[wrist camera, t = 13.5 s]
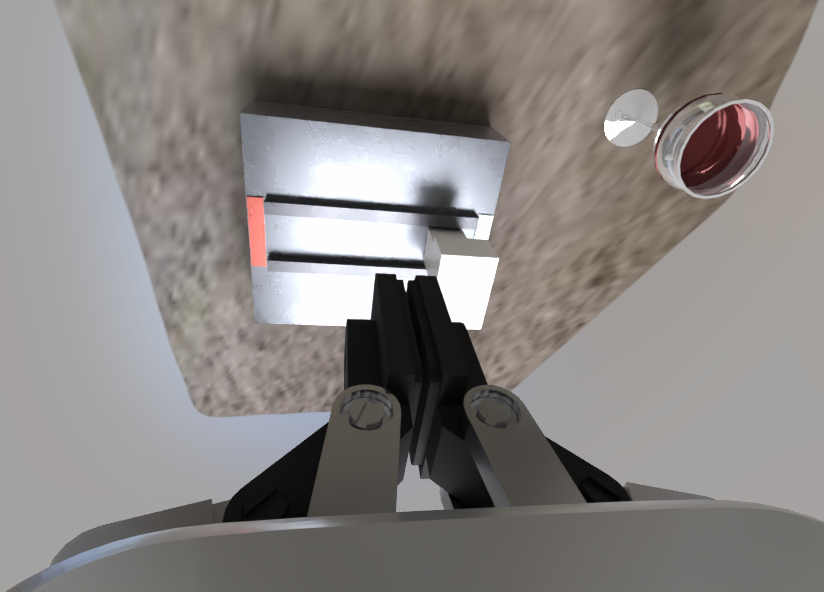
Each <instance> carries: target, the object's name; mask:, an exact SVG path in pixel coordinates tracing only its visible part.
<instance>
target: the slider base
mask: <svg viewBox="0 0 824 592" xmlns="http://www.w3.org/2000/svg"><path fill="white" fill-rule="evenodd" d="M240 125H241V139H242V152H243V166H244V179H245V193H246V206H247V220H248V233H249V247H250V260H251V274H252V287H253V301H254V314H255V323H273V324H302V325H332V326H346V321H347V319H371V310H372V300H373V289H374V279H375V274H376V273H385V274H396V277H397V279H403V281H404V286H405V290H406V289H407V282H408V280H414V279H415V276H416V275H426V276H428V274H427V270H426V267H425V264H424V253H425V247H426V240H427V234H428V228H433V229H447V230H461V231H463V232H464V234H465V235H466V237H467V238H471V239H486V240H488V238H489V234H490V229H491V225H492V221H493V216H494V212H495V208H496V204H497V199H498V195H499V191H500V186H501V182H502V178H503V173H504V169H505V165H506V161H507V156H508V152H509V148H510V143H511V142H510V141H509V140H507V139H506V138H505V137H503V136H502V135H501V134H500V133H498V132H497V131H496V130H494V129H493V128H492V127H490V126H482V125H473V124H465V123H456V122H447V121H438V120H429V119H420V118H411V117H402V116H394V115H385V114H376V113H367V112H358V111H349V110H340V109H331V108H323V107H314V106H305V105H296V104H287V103H278V102H269V101H260V100H255V101H254V102H252V103H251V104H250V105H249V106H248V107H246V108H245V109H244V110H243V111H241V112H240Z"/></svg>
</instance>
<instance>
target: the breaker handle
mask: <svg viewBox="0 0 824 592" xmlns="http://www.w3.org/2000/svg"><path fill="white" fill-rule="evenodd" d="M498 260H499V257H498V256H497V254H496V253H495V251H494V249H493V248H492V246H491V244H490V243H489V241H488V240H486V239H471V238H467V237H466V235H465V234H464V232H463V231H461V230H447V229H433V228H428V234H427V240H426V247H425V253H424V264H425V267H426V270H427V274H428V276H436V277H437V280H438V283H439V286H440V288H441V291H442V294H443V297H444V300H445V303H446V306H447V309H448V312H449V315H450V318H451V321H452V322H462V323H464V324H465V326H466V329H480V330H481V327H482V323H483V319H484V315H485V311H486V308H487V304H488V300H489V296H490V292H491V288H492V284H493V280H494V276H495V272H496V268H497V264H498Z"/></svg>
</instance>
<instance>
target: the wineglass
mask: <svg viewBox="0 0 824 592" xmlns="http://www.w3.org/2000/svg"><path fill="white" fill-rule="evenodd" d="M657 114H658V105H657V101H656V99H655V97H654V95H652V94H651V93H650V92H649V91H647V90H643V89H635V90H631V91H628V92H626V93H624V94H623V95H621V96H620V97H619V98H618V99H616V100H615V102H614V103H613V104H612V106H611V107H610V109H609V111H608V113H607V116H606V119H605V126H604V127H605V133H606V136H607V137H608V139H609V141H610V142H612V143H613V144H614V145H617V146H621V147H625V146H631V145H634V144H636V143H638V142H640V141H641V140H642V139H643V138H645V137H646V136H647V135H648V133H649V132H650V131H651V130H652V131H655V132H657V135H656V138H655V141H654V146H653V151H652V152H653V161H654V165H655V167H656V169H657V171H658V173H659V175H660V176H661V178H662V179H663V180H664V181H666V182H667V183H668V184H670V185H671V186H673V187H674V188H676V189H681V190H685V191H686V192H687V193H689V194H690V195H691V196H693V197H698V198H703V199H708V198H715V197H720V196H722V195H725V194H727V193H729V192H732V191H734V190H735V189H737V188H738V187H739V186H741V185H742V184H744V183H745V182H746V181H747V180H748V179H749V178H750V177H751V176H752V175H753V174H754V173H755V172H756V171H757V170H758V169H759V167H760V166H761V164H762V163H763V161H764V159H765V157H766V156H767V154H768V152H769V149H770V146H771V143H772V140H773V133H774V132H773V131H774V122H773V120H772V117H771V114H770V111H769V110H768V109H767V108H766V107H765V106H764V105H762V104H761V103H760V102H756V101H753V100H749V99H745V100H742V99H741V98H739V97H736V96H732V95H729V94H722V93H716V94H708V95H703V96H700V97H698V98H695V99H693V100H691V101H689V102H686V103H684V104H682V105H681V106H680V107H679V108H677V109H676V110H675V111H674V112H672V113H671V114H670V115H669V117H668V118H667V119H666V120H665V122H664V123H663V124H662V125H660V124H656V123H655V122H656V119H657Z"/></svg>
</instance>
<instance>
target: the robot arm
mask: <svg viewBox="0 0 824 592" xmlns="http://www.w3.org/2000/svg"><path fill="white" fill-rule="evenodd" d="M408 453H410V460H411V464H412V465H418V466H419V471H420V478H421V479H428V478H430V479H431V480H432V481H434V482H435V483H436V484H437V485H439V486H440V497H441V501H442V504H443V507H444V510H432V511H412V512H396V499H397V486H398V485H399V483H400V482H401V481H402V480H403V477H404V472H405V467H406V463H407V457H408ZM6 592H824V522H823V521H820V520H818V519H815V518H813V517H810V516H807V515H803V514H800V513H797V512H794V511H790V510H787V509H782V508H777V507H773V506H767V505H763V504H757V503H750V502H739V501H729V500H715V499H712V498H709V497H706V496H700V495H695V494H689V493H684V492H678V491H673V490H667V489H662V488H655V487H650V486H644V485H640V484H634V483H629V482H627V483H626V484H625V486H624V487H622V486H621V485H620V484H619V483H618V482H617V481H616V480H614V479H613V478H612V477H610V476H609V475H608V474H606V473H604V472H603V471H601V470H599V469H598V468H596V467H594V466H593V465H591V464H589V463H588V462H586V461H585V460H583V459H581V458H579V457H578V456H576V455H574V454H573V453H572V452H570V451H568V450H567V449H565V448H563V447H562V446H560V445H558V444H557V443H555V442H553V441H552V440H550V439H548V438H547V437H545V436H544V434H543V433H542V431H541V430H540V428H539V427H538V425H537V424H536V422H535V420H534V419H533V417H532V416H531V414H530V413H529V411H528V409H527V408H526V406H525V405H524V403H523V402H522V401H521V400H520V399H519V398H518V397H517V396H516V395H515V394H513V393H512V392H511V391H508V390H506V389H504V388H502V387H498V386H494V385H487V382H486V379H485V377H484V374H483V371H482V369H481V366H480V363H479V361H478V358H477V355H476V353H475V350H474V347H473V345H472V342H471V339H470V337H469V334H468V331H467V329H466V326H465V324H464V323H462V322H452V321H451V318H450V315H449V312H448V309H447V306H446V303H445V300H444V297H443V294H442V291H441V288H440V286H439V283H438V280H437V277H436V276H426V275H416V276H415V279H414V280H408V282H407V289H406V290H405V286H404V281H403V279H397V277H396V274H385V273H376V274H375V279H374V289H373V300H372V310H371V319H347V321H346V335H345V354H344V391H342V392H341V393H340V394H339V395H338V396H337V397H336V399H335V401H334V403H333V406H332V410H331V415H330V419H329V422H328V423H327V424H325V425H324V426H323V427H321V428H320V429H319V430H317V431H316V432H315V433H313V434H312V435H311V436H309V437H308V438H307V439H306V440H304V441H303V442H302V443H300V444H299V445H298V446H296V447H295V448H294V449H292V450H291V451H290V452H288V453H287V454H286V455H285V456H283V457H282V458H281V459H279V460H278V461H277V462H275V463H274V464H273V465H271V466H270V467H269V468H268V469H266V470H265V471H264V472H262V473H261V474H260V475H258V476H257V477H256V478H254V479H253V480H252V481H250V482H249V483H248V484H246V485H245V486H244V487H243V488H241V489H240V490H239V491H238V492H237V493H236V494H235V495H234V496H233V497H232V499H231V500H228V501H223V502H219V503H216V504H213V502H212V499H209V500H205V501H201V502H197V503H193V504H188V505H184V506H180V507H176V508H172V509H168V510H164V511H160V512H155V513H151V514H147V515H143V516H139V517H135V518H131V519H127V520H123V521H118V522H114V523H110V524H106V525H102V526H98V527H96V528H93V529H91V530H88V531H86V532H83V533H81V534H80V535H78V536H77V537H76V538H74V539H73V540H71V541H70V542H68V543H67V544H66V545H65V546H64V547H63V548H62V549H61V551H60V552H59V553H58V554H57V555H56V556H55V557H54V559H53V561H52V563H51V565H50V567H49V568H47V569H45V570H43V571H40V572H39V573H37V574H35V575H33V576H31V577H29V578H27V579H25V580H24V581H22V582H20V583H18V584H17V585H15V586H14V587H12V588H11V589H9V590H7V591H6Z"/></svg>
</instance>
